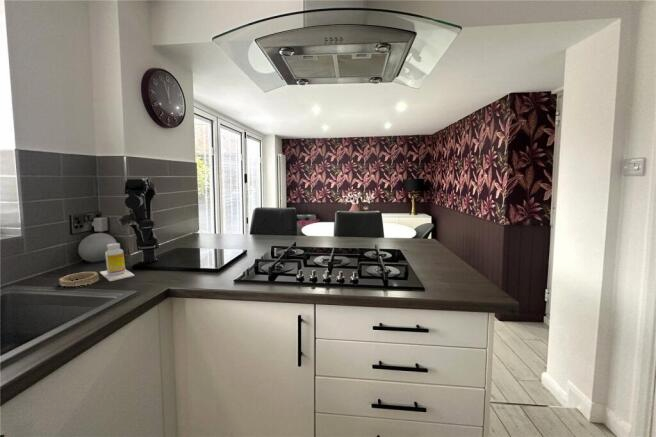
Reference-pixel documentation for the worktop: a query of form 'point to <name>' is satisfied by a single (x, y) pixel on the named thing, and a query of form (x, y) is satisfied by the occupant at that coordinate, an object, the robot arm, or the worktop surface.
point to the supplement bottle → (115, 259)
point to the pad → (117, 277)
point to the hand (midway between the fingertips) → (141, 240)
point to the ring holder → (89, 278)
